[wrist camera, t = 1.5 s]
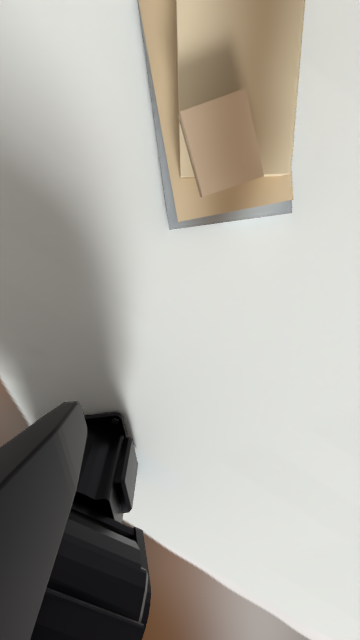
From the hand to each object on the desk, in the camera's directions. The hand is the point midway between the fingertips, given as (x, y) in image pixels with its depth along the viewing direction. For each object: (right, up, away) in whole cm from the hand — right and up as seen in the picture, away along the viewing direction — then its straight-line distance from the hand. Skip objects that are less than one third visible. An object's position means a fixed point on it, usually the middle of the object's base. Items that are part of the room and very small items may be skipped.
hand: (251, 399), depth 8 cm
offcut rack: (0, +13, +9) cm, 16 cm away
